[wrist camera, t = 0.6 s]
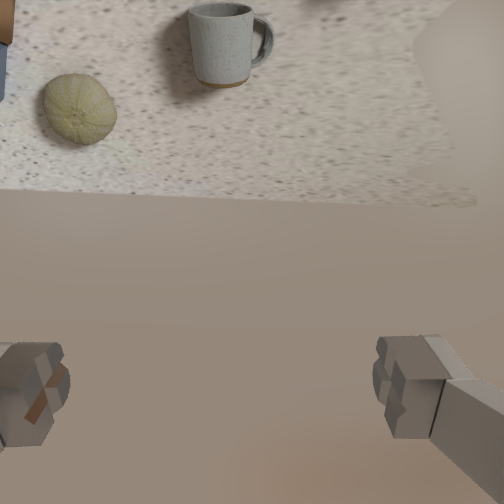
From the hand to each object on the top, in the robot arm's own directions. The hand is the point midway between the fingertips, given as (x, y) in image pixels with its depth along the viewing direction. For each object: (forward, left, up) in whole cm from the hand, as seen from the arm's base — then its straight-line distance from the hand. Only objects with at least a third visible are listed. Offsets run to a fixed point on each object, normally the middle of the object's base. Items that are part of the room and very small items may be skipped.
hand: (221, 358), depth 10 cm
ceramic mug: (+1, +5, -50) cm, 50 cm away
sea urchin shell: (+17, -10, -50) cm, 54 cm away
